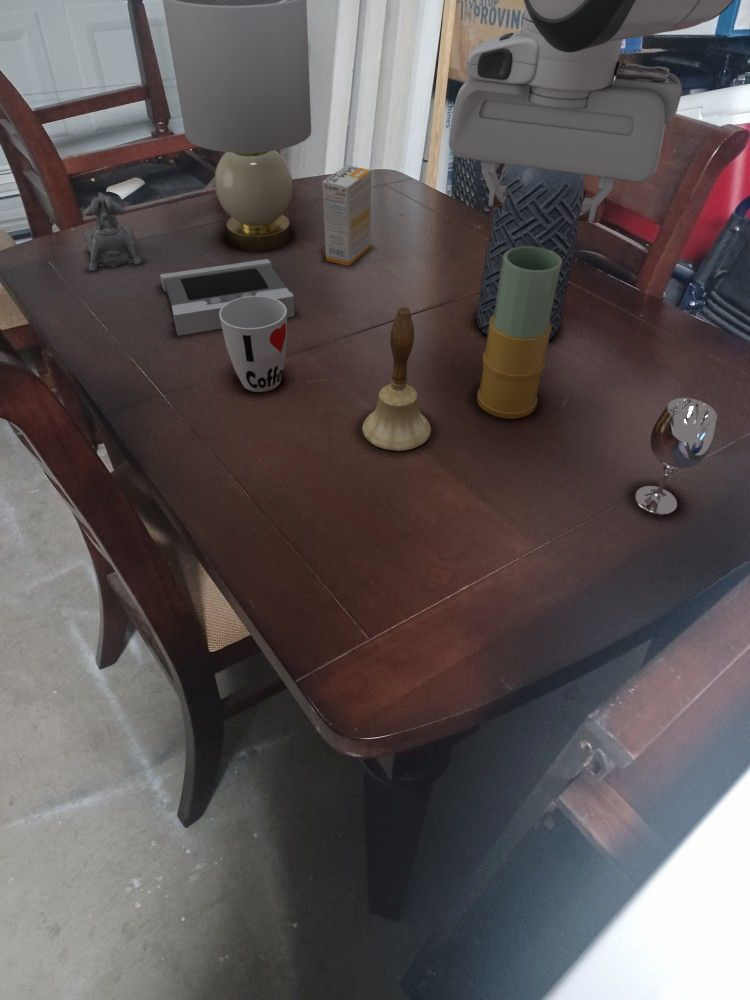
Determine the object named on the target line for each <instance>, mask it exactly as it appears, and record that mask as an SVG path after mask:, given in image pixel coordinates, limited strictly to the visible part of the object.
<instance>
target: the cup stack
mask: <svg viewBox="0 0 750 1000" xmlns="http://www.w3.org/2000/svg"><path fill="white" fill-rule="evenodd" d="M550 333H551V324H550V323H549V326H548V329H547V331H546V332H545V333H544V334H542V335H540V336H538V337H534V338H517V337H513V336H509V335H506V334H504V333H502V332H501V331H499V330H498V329H497V328H496V327H495V325H494V315H493V316H492V317H491V318H490V321H489V328H488V335H486V342H485V343H486V344H485V350H484V351H483V354H482V360H481V365H482V371H481V378H480V382H479V383H480V384H479V388H478V390H477V393H476V394H477V395H476V401H477V404H478V406H479V407H480V408H481V409H482V410H483V411H485V412H486V413H487V414H490V415H491V416H494V417H497V418H501V419H510V420H515V419H521V418H524V417H527V416H529V415H531V414H532V413H533V412H534V411H535V410H536V409H537V405H538V400H539V399H538V393H539V388H540V384H541V380H542V375H543V373H544V372H545V369H546V365H547V364H546V357H547V351H548V346H549V341H550V339H549V338H550Z"/></svg>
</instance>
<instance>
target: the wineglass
mask: <svg viewBox="0 0 750 1000" xmlns="http://www.w3.org/2000/svg"><path fill="white" fill-rule="evenodd" d="M717 422H718V414H717V412H716V411H715V409H714V408H713V407H712V406H710V405H709V404H708V403H705V402H703V401H701V400H699V399H695V398H690V397H679V398H675V399H672V400H671V401H669V402H668V404H667V405H666V406H665V407H664V409H663V410H662V412H661V413H660V415H658V418H657V419H656V421H655V423H654V425H653V427H652V429H651V432H650V437H649V448H650V451H651V453H652V456H653V457H654V458H655V459H656V460H657V461H658V462H659V463H660V464H662V465H664V466H663V468H662V472H663V473H662V476H661V477H662V478H661V481H660V483H659V484H658V486H656V485H644V486H641V487H640V488H638V489H637V490H636V492H635V493H634V499H635V502H636V503H637V505H638V506H639V507H640V508H642V509H643V510H644V511H646V512H648V513H651V514H655V515H660V516H662V515H663V516H664V515H669V514H671V513H673V512H675V511H676V509H677V508H678V501H677V498H676V497H675V496H674V495H673V494H672V492H671V491H669V490H668V489H665V488H664V487H665V485H666V482H667V481H668V479H669V478H670V476H671V475H672V474H673V472H674V471H675V469H677V470H678V469H679V470H686V469H689V468H693V467H695V466H697V465H699V464H701V462H703V461H704V459H705V458H706V457H707V456H708V454H709V452H710V450H711V449H712V446H713V443H714V440H715V435H716V430H717V424H718V423H717Z"/></svg>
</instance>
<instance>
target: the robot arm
mask: <svg viewBox="0 0 750 1000" xmlns="http://www.w3.org/2000/svg"><path fill="white" fill-rule="evenodd" d="M734 1H735V0H523V4H524V7H525V8H524V11H523V12H524V13H523V19H522V27H521V30H516V31H513V32H509V33H505V34H503V35H498V36H496V37H492V38H489V39H487V40H485V41H482V42H481V43H480V44H478V45H477V46H475V47H474V48H473V49H472V50H471V51H470V53H469V54H468V56H467V59H466V74H467V76H468V77H469V78H468V79H467V80H466V81H465V82H464V83H463V84H462V85H461V87H460V88H459V90H458V93H457V95H456V98H455V101H454V106H453V109H452V110H453V111H452V117H451V122H450V127H449V136H448V146H449V148H450V151H451V152H452V155H453V156H454V157H456V158H459V159H464V160H465V159H466V160H473V161H480V162H481V172H480V173H481V174H482V177H483V179H484V183H485V184H486V186H487V189H488V190H489V195H488V196H489V197H488V207H491V208H494V207H499V208H503V206H504V204H505V201H506V196H505V195H506V193H507V187H508V186H502V185H500V183H499V180H500V179H499V177H498V175H497V170H498V168H499V167H500V165H502V164H503V165H506V164H509V165H516V166H523V167H531V168H538V169H545V170H553V171H560V172H567V173H575V174H582V175H584V176H589V177H598V178H599V180H598V185H597V188H598V189H599V190H598V192H597V193H596V194H595V195H594V196H593V197H592V198H591V197H583V203H582V206H581V213H580V216H579V221H583V222H589V223H594V221H595V218H596V215H597V211H598V206H599V205H600V204H601V203H602V201H604V200H605V198H606V197H607V196H609V194H610V193H611V192H612V190H613V189H614V186H615V184H616V180H618V181H619V180H620V181H626V182H627V181H628V182H633V183H642V184H643V183H646V182H647V181H649V180H650V179H651V178H652V177H653V176H654V175H655V174H656V173H657V169H658V166H659V162H660V159H661V158H660V157H661V152H662V147H663V143H664V137H665V130H666V125H667V124H668V123H670V122H671V121H672V120H673V118H674V117H675V116H676V113H677V111H678V108H679V104H680V102H681V98H682V94H683V86H682V83H681V81H680V78H679V77H678V76H676V74H674V73H671V72H670V68H669V67H665V66H661V65H659V66H658V65H655V66H646V65H642V64H636V63H629V62H620V61H619V58H620V54H621V49H622V44H623V40H629V39H635V38H641V37H642V38H643V37H647V36H648V37H649V36H654V35H658V34H661V33H669V32H677V31H681V30H686V29H691V28H693V27H696V26H699V25H701V24H704V23H707V22H709V21H712V20H714V19H715V18H717V17H719V15H721V14H723V13H724V12H725V11H726V10H727V9H728V8H730V6H731V5H732V4H733V3H734ZM668 79H669V80H670V81H668Z"/></svg>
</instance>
